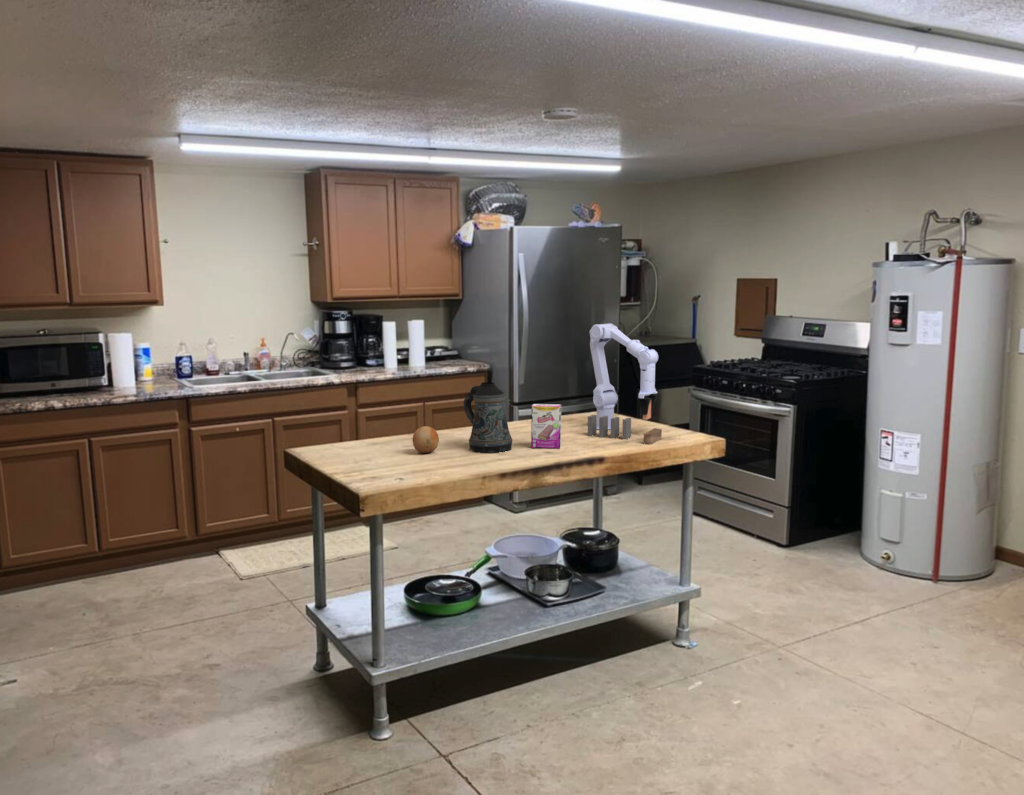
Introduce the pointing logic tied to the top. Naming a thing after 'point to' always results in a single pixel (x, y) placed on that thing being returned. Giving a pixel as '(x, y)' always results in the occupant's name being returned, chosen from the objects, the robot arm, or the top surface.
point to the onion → (425, 439)
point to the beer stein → (488, 419)
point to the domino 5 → (648, 413)
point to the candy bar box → (546, 426)
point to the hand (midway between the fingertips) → (646, 413)
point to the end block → (652, 436)
